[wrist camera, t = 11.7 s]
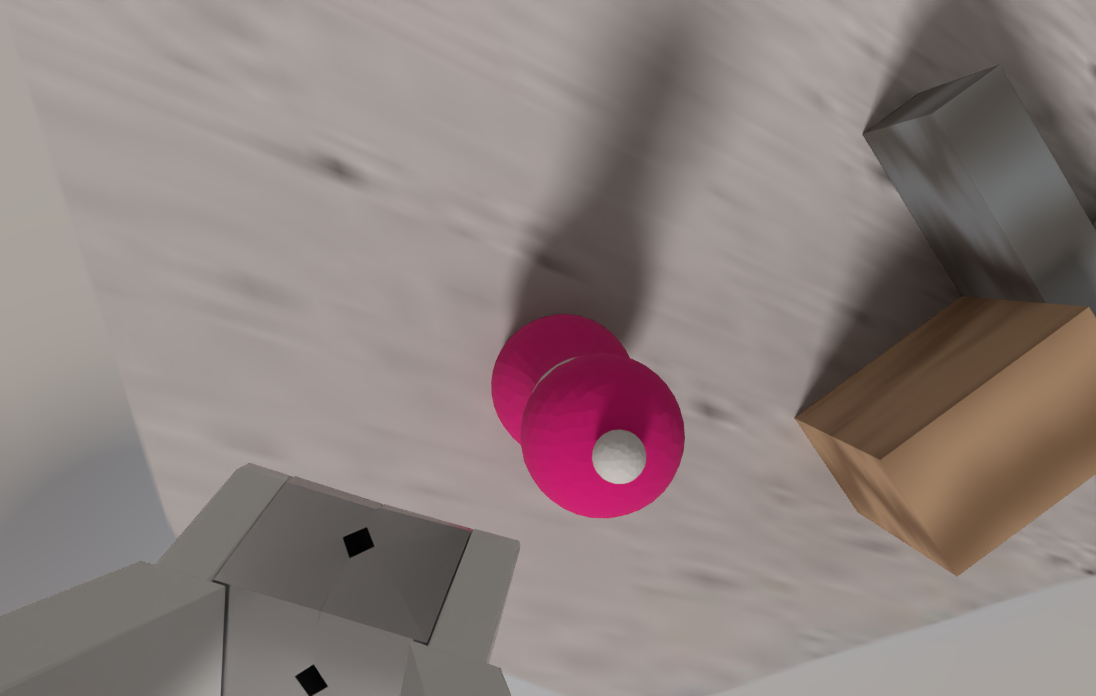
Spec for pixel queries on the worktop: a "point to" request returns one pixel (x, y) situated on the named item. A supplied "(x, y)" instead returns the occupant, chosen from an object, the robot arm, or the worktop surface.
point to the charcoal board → (989, 193)
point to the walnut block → (966, 425)
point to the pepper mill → (587, 416)
